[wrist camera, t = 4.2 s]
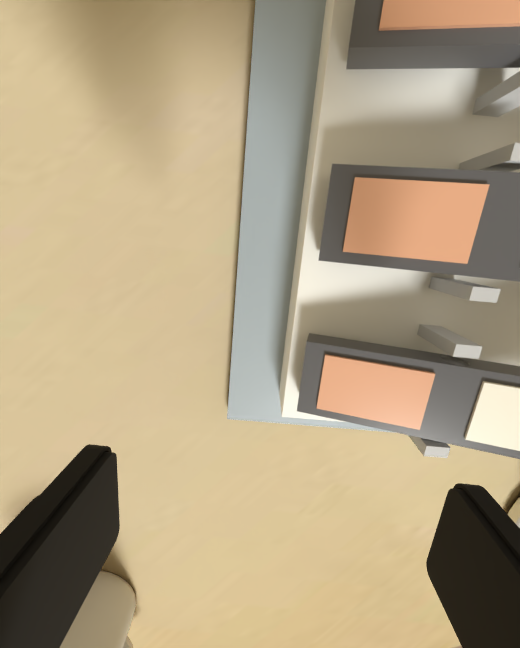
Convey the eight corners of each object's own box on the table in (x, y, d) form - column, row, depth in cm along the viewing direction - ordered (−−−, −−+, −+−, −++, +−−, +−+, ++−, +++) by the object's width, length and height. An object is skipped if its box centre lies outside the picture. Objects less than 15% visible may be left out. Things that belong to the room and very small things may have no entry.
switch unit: (731, -31, 15) (1122, -254, 8) (538, 436, 23) (657, 521, 16) (262, -86, 15) (264, -373, 8) (228, 411, 22) (214, 488, 16)
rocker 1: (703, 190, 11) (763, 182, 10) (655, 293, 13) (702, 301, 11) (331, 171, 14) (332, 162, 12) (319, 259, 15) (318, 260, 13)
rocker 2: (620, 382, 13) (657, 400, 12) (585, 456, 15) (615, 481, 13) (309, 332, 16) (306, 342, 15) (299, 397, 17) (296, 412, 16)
